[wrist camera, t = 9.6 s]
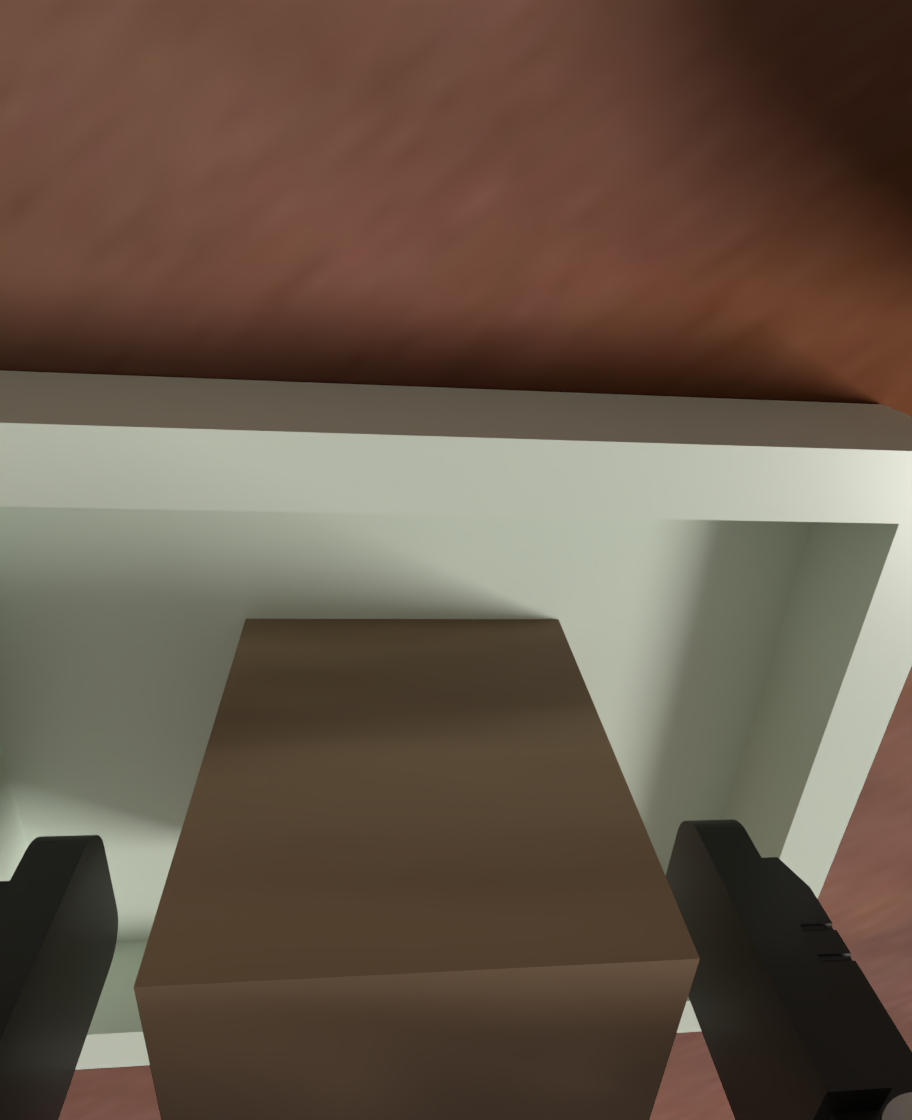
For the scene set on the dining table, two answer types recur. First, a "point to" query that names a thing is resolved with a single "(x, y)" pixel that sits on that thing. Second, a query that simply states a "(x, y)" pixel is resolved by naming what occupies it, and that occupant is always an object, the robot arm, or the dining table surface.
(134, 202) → the dining table surface
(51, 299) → the dining table surface
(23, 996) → the robot arm
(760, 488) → the tray
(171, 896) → the walnut block
